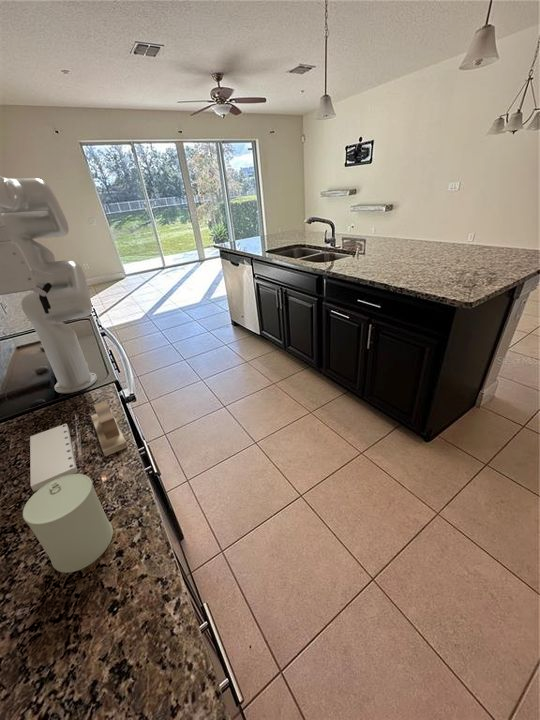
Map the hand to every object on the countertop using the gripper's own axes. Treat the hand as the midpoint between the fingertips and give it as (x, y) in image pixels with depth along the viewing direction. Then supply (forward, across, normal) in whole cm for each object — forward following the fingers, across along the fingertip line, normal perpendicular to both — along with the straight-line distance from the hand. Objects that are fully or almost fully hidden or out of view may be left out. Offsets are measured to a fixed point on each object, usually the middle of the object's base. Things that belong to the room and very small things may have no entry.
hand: (22, 317), depth 70 cm
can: (+31, -2, -42) cm, 52 cm away
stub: (+30, +8, -13) cm, 34 cm away
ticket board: (+30, -4, -13) cm, 33 cm away
